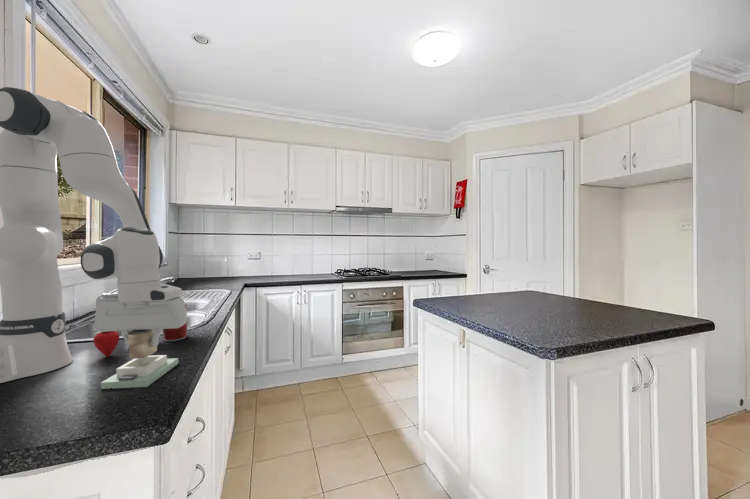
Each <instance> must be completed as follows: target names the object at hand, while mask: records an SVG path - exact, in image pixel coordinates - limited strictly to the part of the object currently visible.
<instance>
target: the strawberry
mask: <svg viewBox="0 0 750 499" xmlns="http://www.w3.org/2000/svg"><path fill="white" fill-rule="evenodd" d="M95 332H98V331H97V330H93V333H95ZM119 340H120V334H119V331H106V332H98V333H96V334H95V335H94V337H93V344H94V346H95V348H96V349H97V350H98V351H99V352H100V353H101V354H103V355H104V356H105V357H110V356H112V353H113V352H114V351H115V349H116V347H117V345H118V344H119Z"/></svg>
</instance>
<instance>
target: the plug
mask: <svg viewBox="0 0 750 499" xmlns="http://www.w3.org/2000/svg"><path fill="white" fill-rule="evenodd" d="M154 334H155V333H152V329H150V330H133V331H131V332H129V333H128V338H129V349H128V351H129V352H128V353H129V360H133V359H136V358H146V357H148V356H152V355H153V354H154V353H156V352H157V351H158V345H157V346H156V347H149V343H148V340H150V339H152V338H153V336H154Z"/></svg>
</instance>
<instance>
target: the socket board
mask: <svg viewBox="0 0 750 499" xmlns="http://www.w3.org/2000/svg"><path fill="white" fill-rule="evenodd" d="M178 364H179V358H178V357H177V358H175V357H172V358H168V355H167V354H159V355H158V354H156V355H155V354H154V355H153V354H152V355H149V356H148V357H146V358H136V359H130V360H129V361H128V362H126V363H124V364H122V365H121V366H119V367H117V368H115V370H116V373H115V374H113V375H111V376H110V377H108V378H106V379H105V380H103V381H101V382H100V389H101V390H105V389H106V390H107V389H108V390H109V389H111V388H112V389H129V388H147V387H149V386H150V385H151V384H153V383H154V382H156V381H158V380H159V379H160V378H161V377H162V376H164V375H165V374H167V372H169V371H171V370H172V369H173V368H175V367H176V366H177V365H178Z"/></svg>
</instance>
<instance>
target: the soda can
mask: <svg viewBox="0 0 750 499" xmlns="http://www.w3.org/2000/svg"><path fill="white" fill-rule="evenodd" d="M187 306H188V305H187V303H185V307H186V314H187V315H188V312H187V311H188V310H187V308H188V307H187ZM187 337H188V320H187V321H186V323H185V324H184V325H183V326H181V327H179V328H172V329H163V332H162V339H163V341H165V342H176V341H177V340H178V341H182V340H185V339H186V338H187ZM181 339H182V340H181Z"/></svg>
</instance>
